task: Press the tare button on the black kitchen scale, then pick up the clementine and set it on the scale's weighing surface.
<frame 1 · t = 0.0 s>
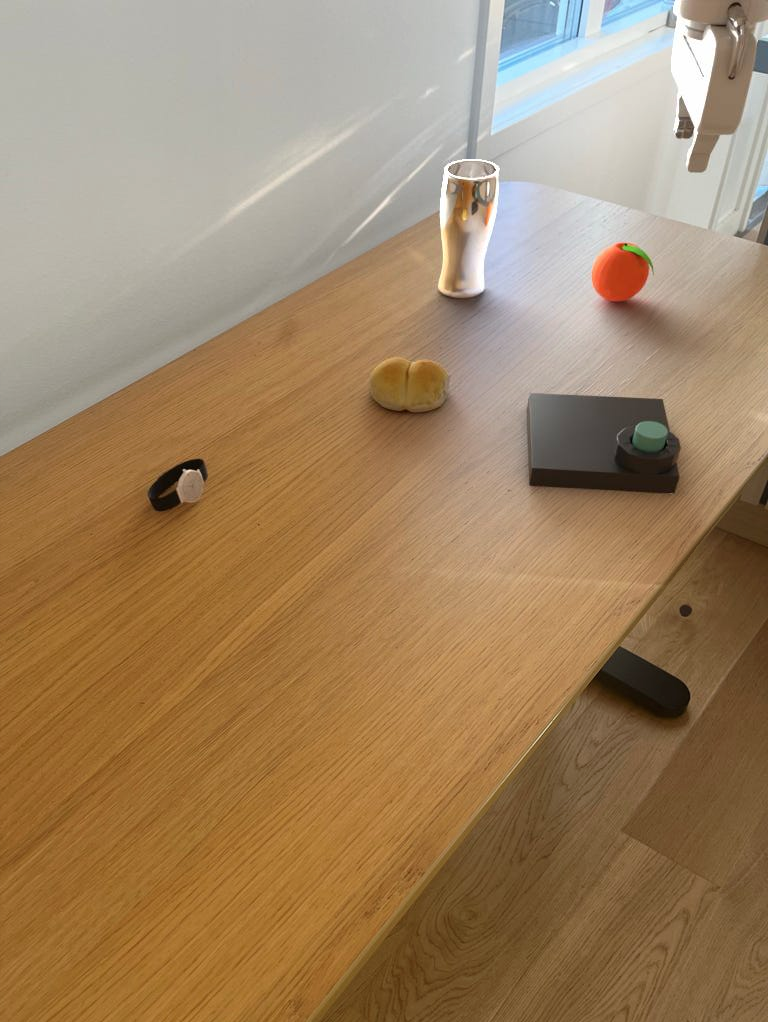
hand: (688, 152, 96), 22 cm above the table, tool pointing down, fingers open, 8 cm apart
beer glass: (460, 289, 126), on the table
bread roll: (409, 396, 108), on the table
tare button: (649, 437, 92), point 4 cm above the table, slide at 0.1 cm
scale: (596, 450, 99), on the table
watch: (180, 497, 96), on the table
clementine: (617, 301, 121), on the table
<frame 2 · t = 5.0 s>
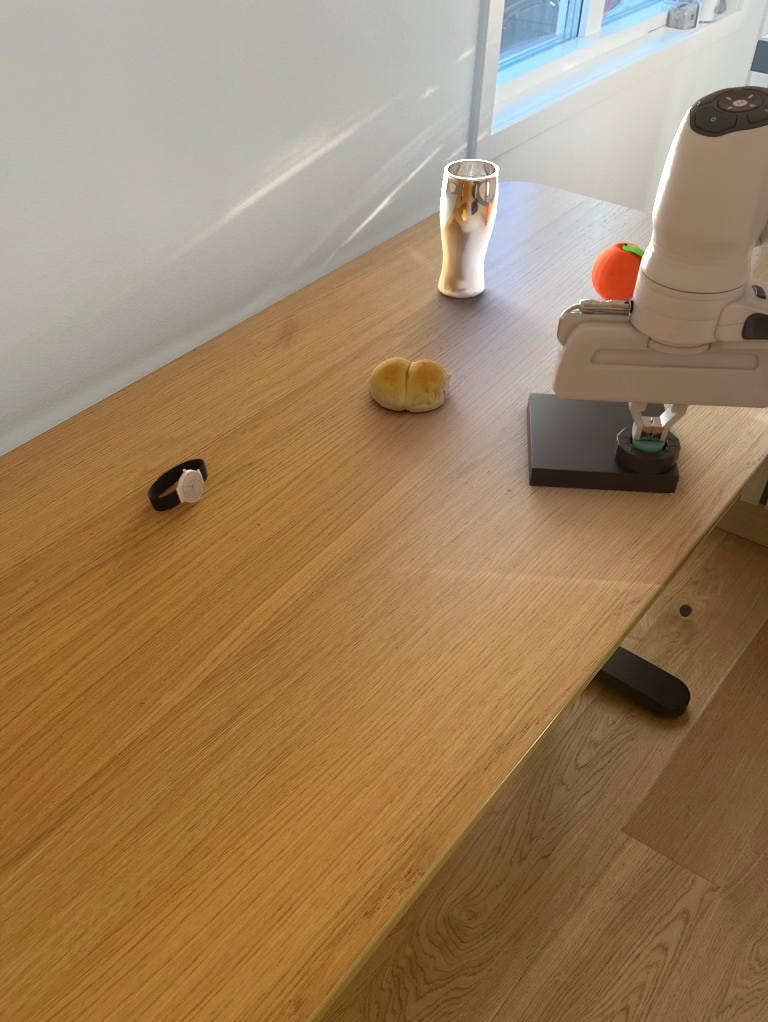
hand: (647, 437, 92), 4 cm above the table, tool pointing down, fingers closed, pressing on tare button
tare button: (647, 445, 93), point 4 cm above the table, slide at -0.9 cm, touching gripper
everything else where it was.
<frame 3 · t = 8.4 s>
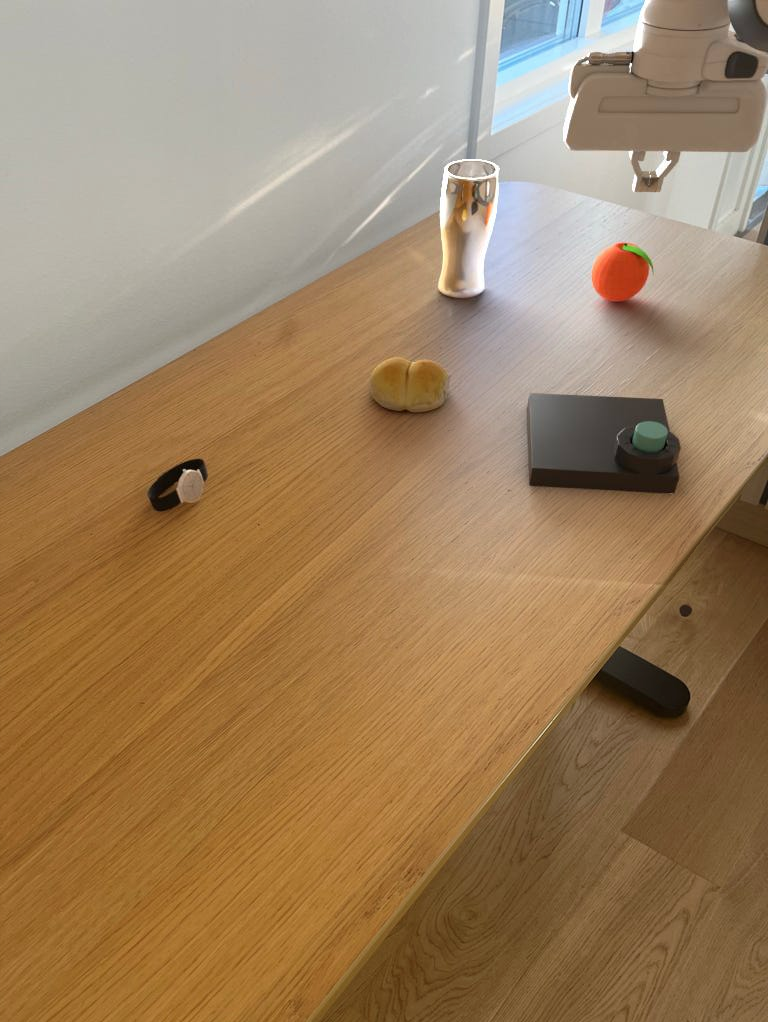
hand: (645, 190, 107), 15 cm above the table, tool pointing down, fingers closed
tare button: (649, 437, 92), point 4 cm above the table, slide at 0.1 cm
everything else where it was.
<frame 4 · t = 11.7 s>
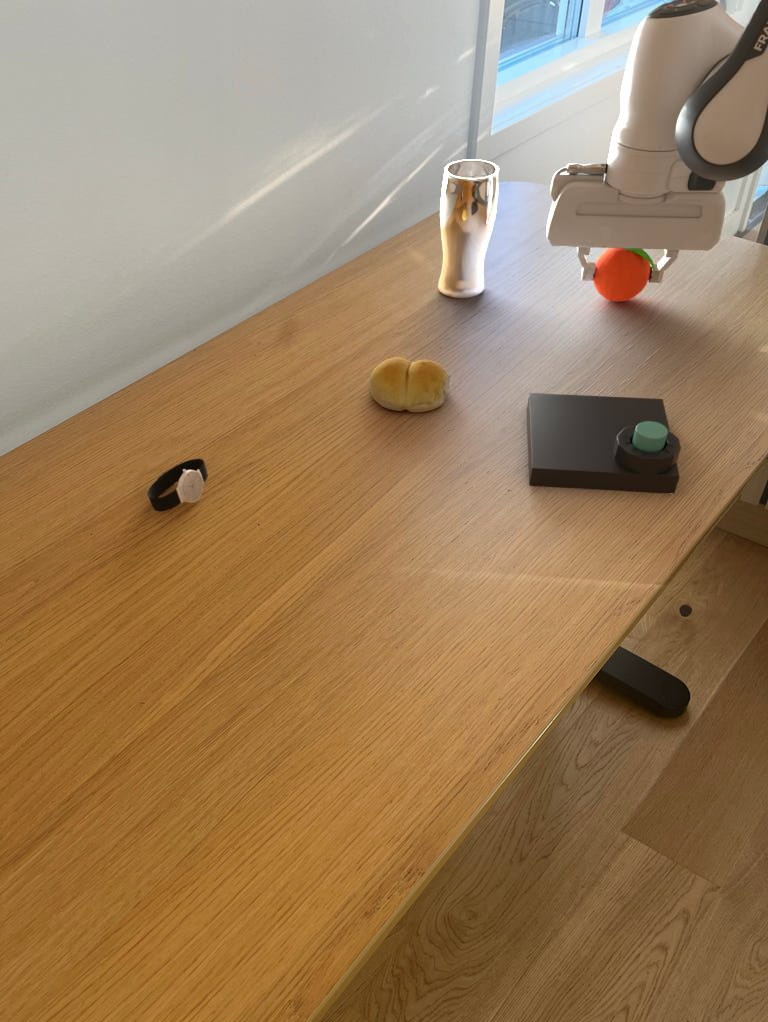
hand: (620, 280, 119), 3 cm above the table, tool pointing down, fingers closed on clementine, 7 cm apart
clementine: (618, 301, 121), on the table, touching gripper
everything else where it was.
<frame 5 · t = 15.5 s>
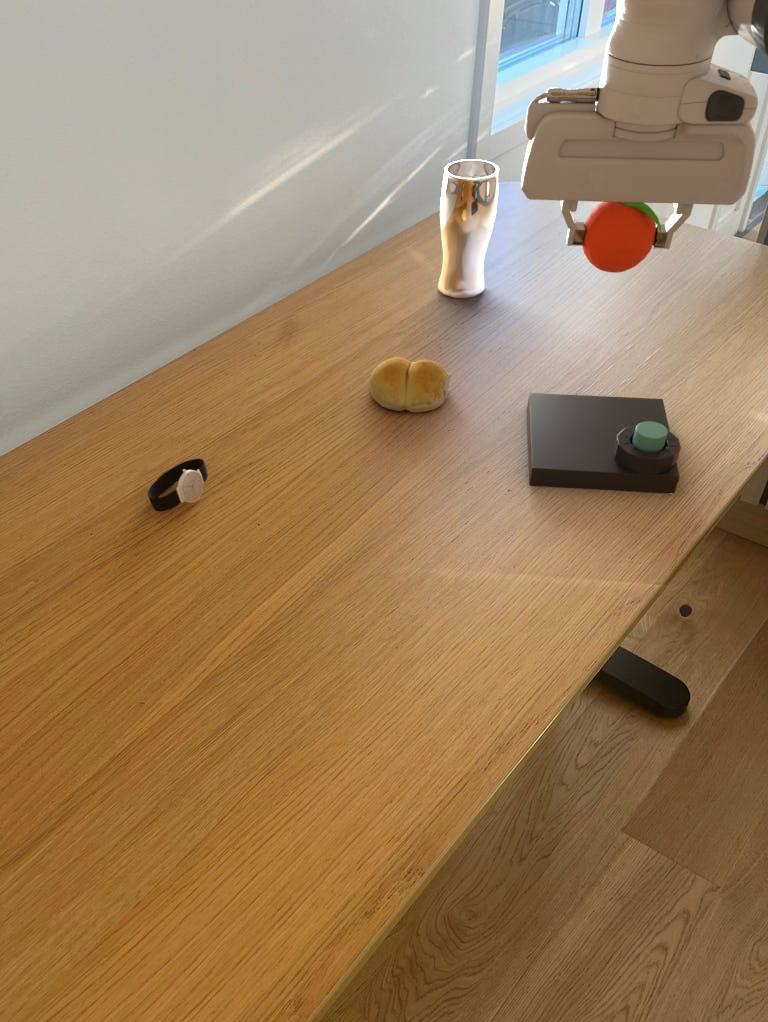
hand: (617, 245, 93), 17 cm above the table, tool pointing down, fingers closed on clementine, 7 cm apart
clementine: (615, 272, 95), point 15 cm above the table, touching gripper
everything else where it was.
when the fingers open (5 cm above the table, at t = 19.6 s): clementine stays where it is, resting on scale.
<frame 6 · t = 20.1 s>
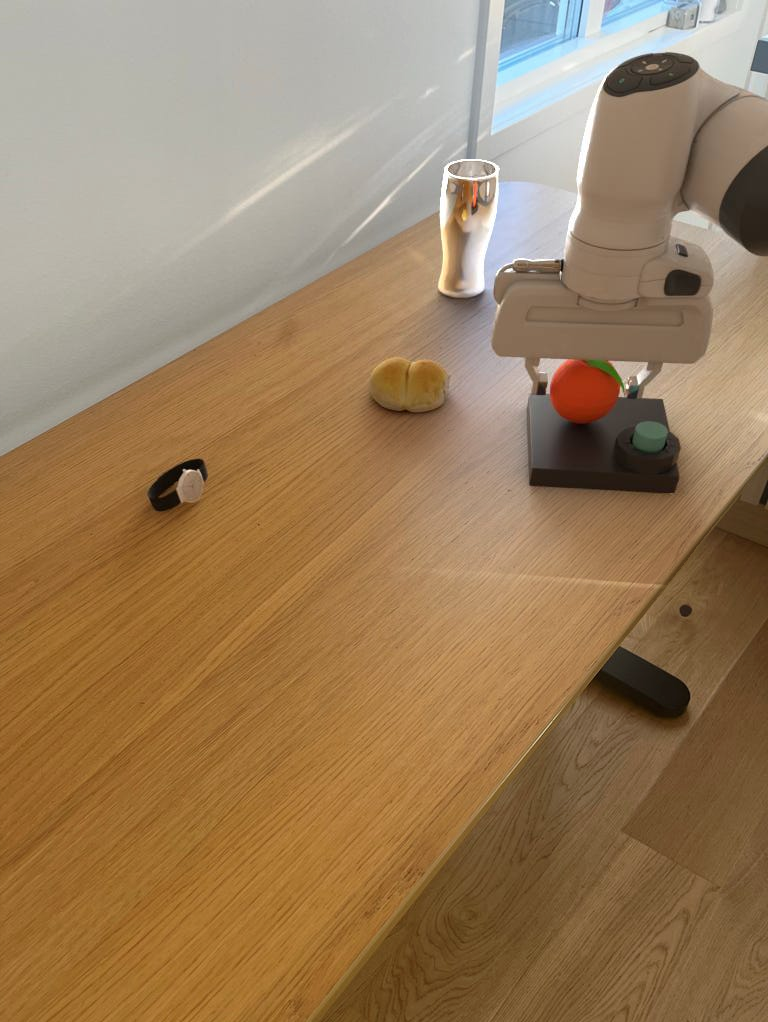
hand: (584, 394, 97), 5 cm above the table, tool pointing down, fingers open, 8 cm apart
clementine: (582, 421, 99), point 2 cm above the table, touching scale
everything else where it was.
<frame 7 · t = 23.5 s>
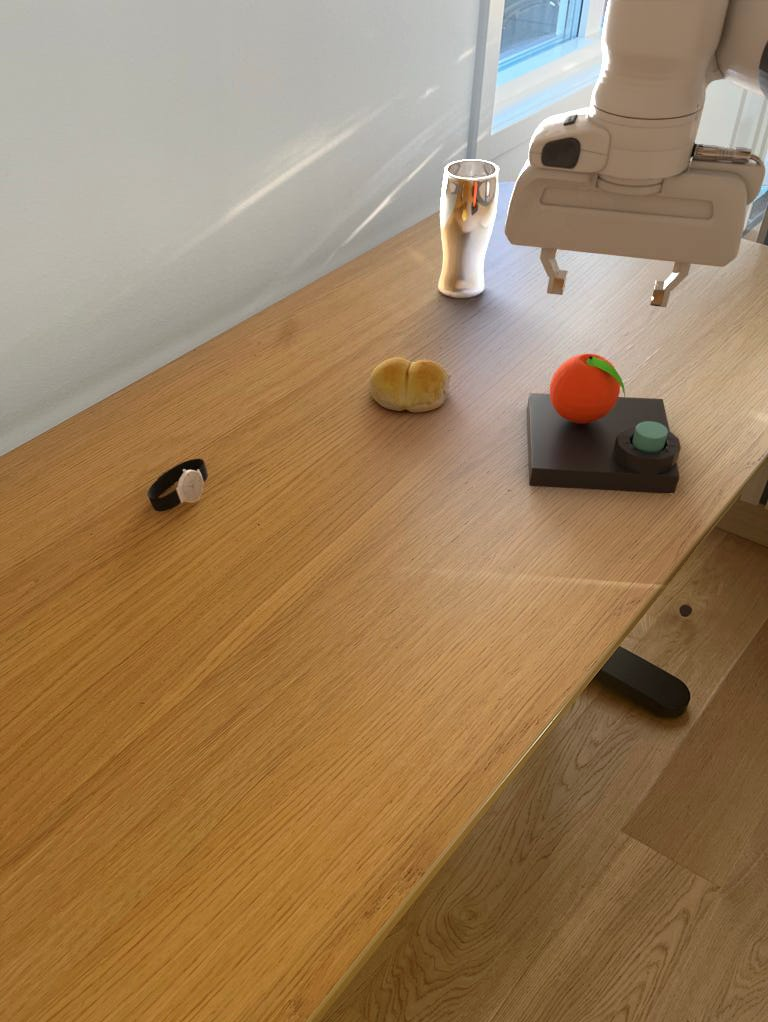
hand: (606, 298, 89), 16 cm above the table, tool pointing down, fingers open, 8 cm apart
nothing on the table moved.
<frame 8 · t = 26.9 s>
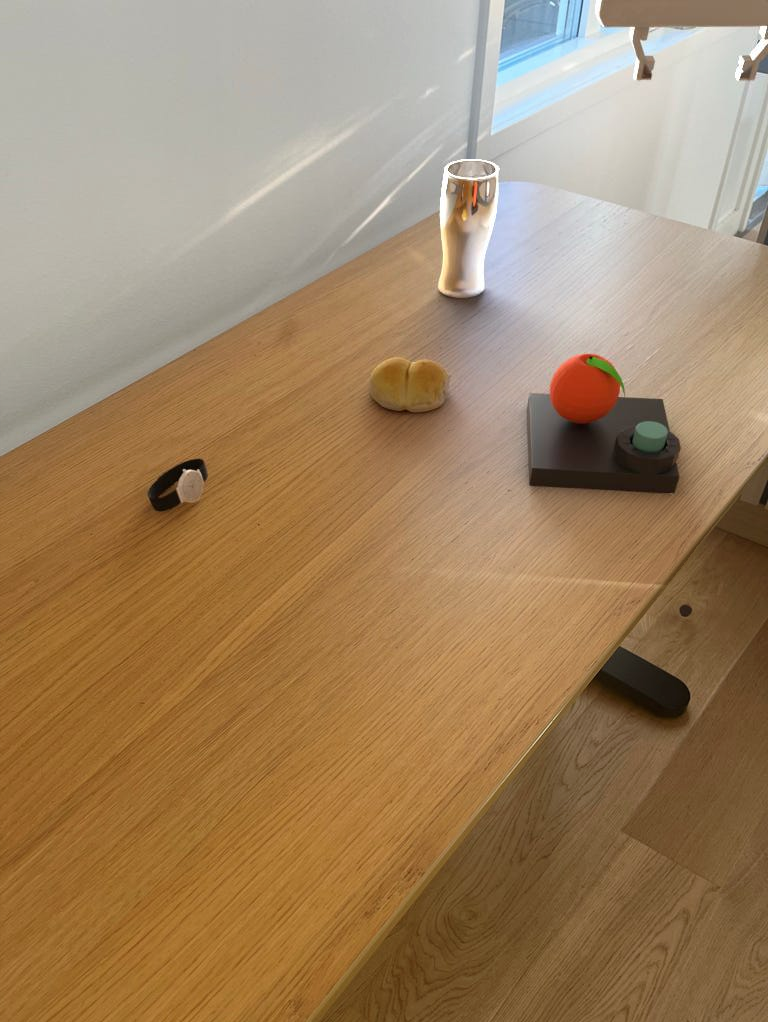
hand: (692, 79, 91), 29 cm above the table, tool pointing down, fingers open, 8 cm apart
nothing on the table moved.
at the end: tare button pushed in 1.1 cm at the most during the clip, back to where it started at the end; clementine inside the target area on the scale (2.6 cm from its centre), point 2.0 cm above the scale's base; clementine touching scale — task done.
